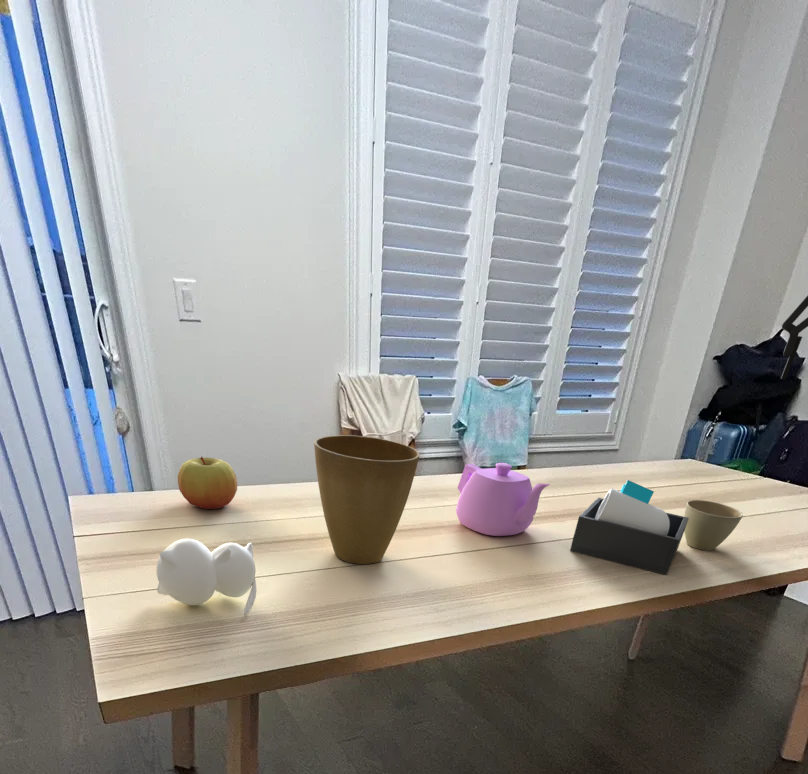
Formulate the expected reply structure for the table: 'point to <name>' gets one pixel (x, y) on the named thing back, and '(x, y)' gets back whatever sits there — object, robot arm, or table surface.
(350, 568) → the table surface
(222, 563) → the cat figurine
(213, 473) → the apple
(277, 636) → the table surface
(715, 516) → the flower pot
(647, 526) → the mug
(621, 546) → the open storage box
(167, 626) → the table surface
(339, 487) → the plant pot
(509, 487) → the teapot
